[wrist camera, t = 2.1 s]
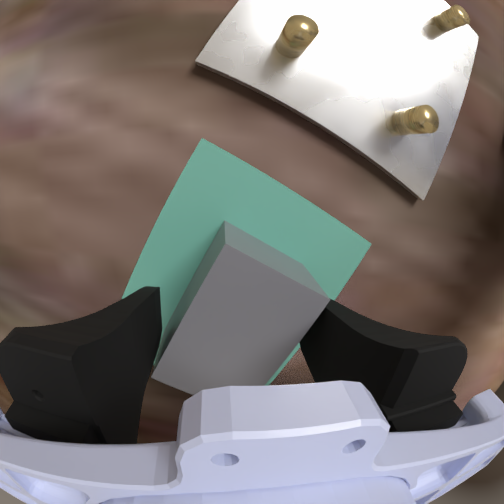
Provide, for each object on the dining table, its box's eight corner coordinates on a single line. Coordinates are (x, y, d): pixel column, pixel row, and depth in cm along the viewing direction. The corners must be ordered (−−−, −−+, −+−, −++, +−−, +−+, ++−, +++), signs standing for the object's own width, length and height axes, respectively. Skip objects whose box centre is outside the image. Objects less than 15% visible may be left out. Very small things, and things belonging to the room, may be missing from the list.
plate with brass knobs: (469, 39, 10) (498, 30, 7) (412, 197, 13) (450, 207, 10) (314, -71, 7) (329, -98, 4) (197, 68, 10) (190, 41, 7)
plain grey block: (362, 238, 14) (414, 270, 9) (251, 391, 16) (261, 450, 12) (203, 140, 12) (193, 125, 7) (111, 331, 14) (81, 385, 10)
